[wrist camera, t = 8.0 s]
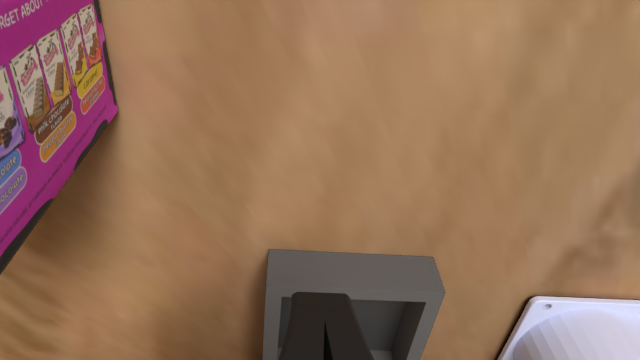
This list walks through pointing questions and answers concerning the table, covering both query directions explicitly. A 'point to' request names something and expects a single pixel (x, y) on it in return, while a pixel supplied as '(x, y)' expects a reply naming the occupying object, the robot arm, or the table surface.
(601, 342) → the robot arm
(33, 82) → the candy bar box
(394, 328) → the box
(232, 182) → the table surface
